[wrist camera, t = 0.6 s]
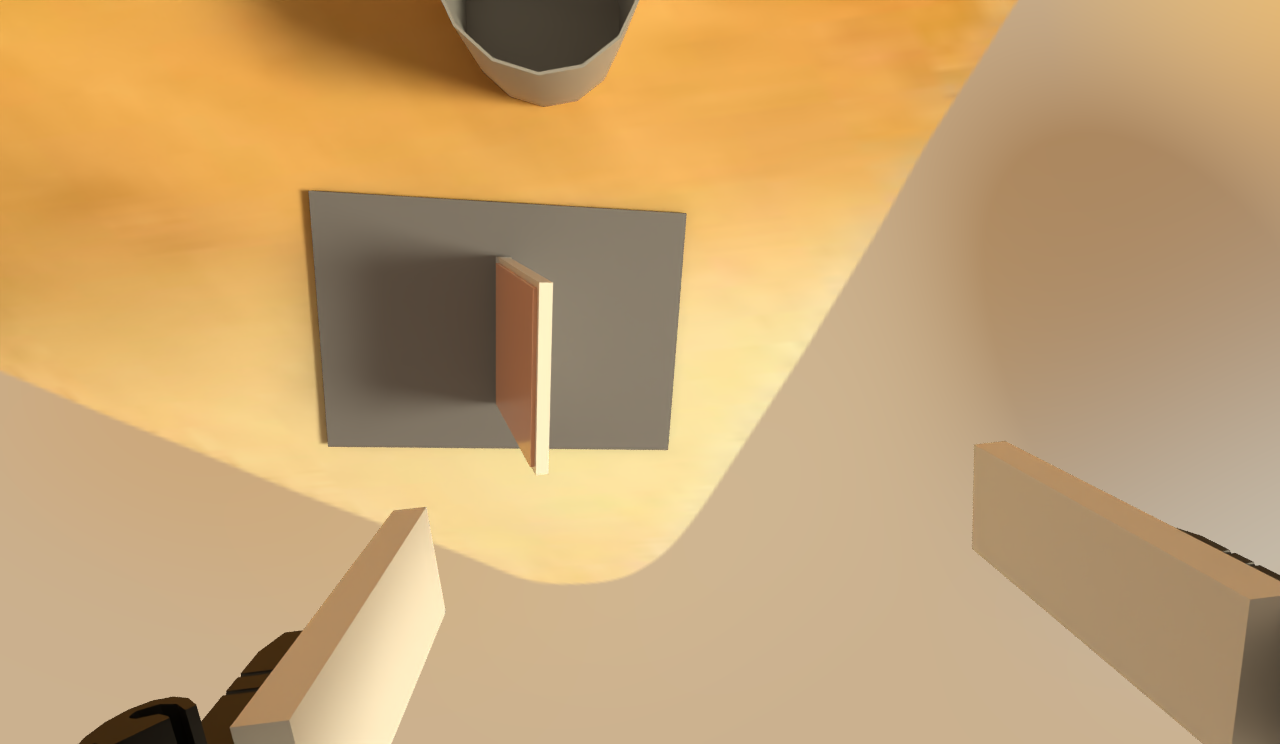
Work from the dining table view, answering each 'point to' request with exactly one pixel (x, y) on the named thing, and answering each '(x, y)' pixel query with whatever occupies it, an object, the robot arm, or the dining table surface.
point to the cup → (543, 43)
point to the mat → (492, 319)
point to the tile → (524, 357)
